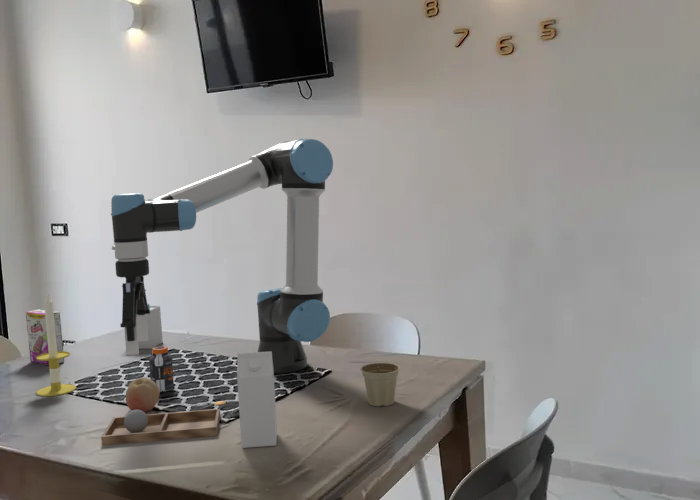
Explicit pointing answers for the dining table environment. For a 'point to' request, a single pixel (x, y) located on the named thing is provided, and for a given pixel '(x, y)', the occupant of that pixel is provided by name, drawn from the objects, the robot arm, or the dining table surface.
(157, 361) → the pill bottle
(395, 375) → the flower pot
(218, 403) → the tile
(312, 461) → the dining table surface
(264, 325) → the robot arm
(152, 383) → the fruit
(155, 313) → the soap bottle
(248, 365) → the milk carton
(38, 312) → the candy bar box
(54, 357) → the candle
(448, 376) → the dining table surface
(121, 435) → the divided wooden tray
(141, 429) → the grey ball
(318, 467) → the dining table surface
